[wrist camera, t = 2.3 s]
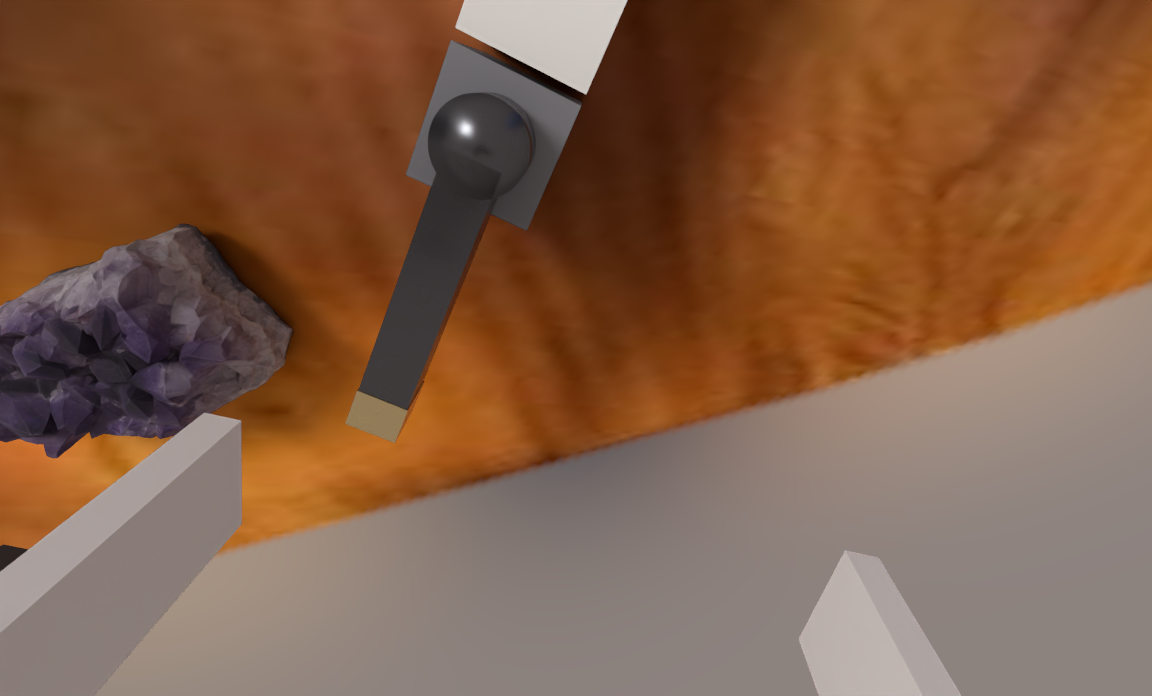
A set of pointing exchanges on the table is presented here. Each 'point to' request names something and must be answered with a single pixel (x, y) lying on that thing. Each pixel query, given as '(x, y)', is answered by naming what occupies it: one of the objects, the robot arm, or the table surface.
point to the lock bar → (442, 248)
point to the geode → (133, 344)
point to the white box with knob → (524, 78)
